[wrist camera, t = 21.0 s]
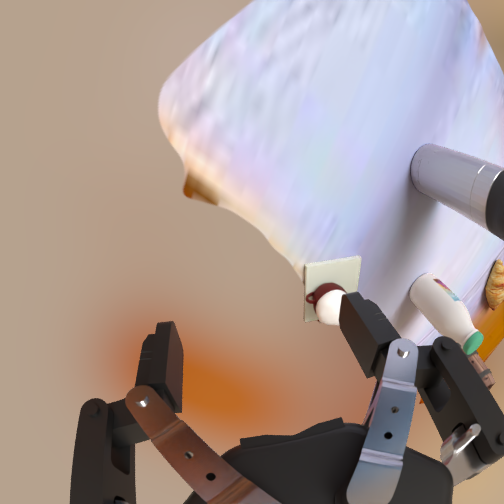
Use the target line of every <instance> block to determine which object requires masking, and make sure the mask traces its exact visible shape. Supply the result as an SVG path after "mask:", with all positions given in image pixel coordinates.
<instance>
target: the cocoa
mask: <svg viewBox="0 0 504 504" xmlns="http://www.w3.org/2000/svg"><path fill="white" fill-rule="evenodd" d="M343 294H347V292H346V291H345V290H344V289H343V287H341V286H340V285H338V284H336V283H333V282H331V283H324V284H322V285H320V286H319V287H318V288H317V289H316V290H315V292H311V293H309V294H308V295H307V296H306V299H305V300H306V302H308V303H309V304H313V308H314V311H315V313H316V314H317V316H318V318H319V321H320V323H325V324H327V325H339V313H340V305H341V297H342V295H343ZM310 296H313V297H312V300H309V299H308V298H309V297H310Z"/></svg>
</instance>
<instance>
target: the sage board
mask: <svg viewBox="0 0 504 504" xmlns="http://www.w3.org/2000/svg"><path fill="white" fill-rule="evenodd" d="M360 266H361V257H360V256H359V255H357V256H351V257H346V258H340V259H334V260H328V261H321V262H315V263H309V264H305V288H304V290H305V291H304V321H305V322H309V321H314V320H319V318H318V316H317V314H316V313H315V311H314V308H313V304H309V303H308V302H306V300H305V299H306V296H307V295H308V294H309V293H311V292H315V290H316V289H317V288H318V287H319V286H320V285H322V284H324V283H331V282H333V283H336V284H338V285H340V286H341V287H343V289H344V290H345V291H346V292H347V293H352V292H357V288H358V281H359V274H360ZM312 297H313V296H310V297H309V298H308V299H309V300H312Z"/></svg>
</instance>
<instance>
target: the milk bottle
mask: <svg viewBox="0 0 504 504" xmlns="http://www.w3.org/2000/svg"><path fill="white" fill-rule="evenodd" d="M410 299H411V301H412V302H413V303H414V304H415V306H416V307H417V308H418V309H419V310H420V311H421V313H422V314H423V315H424V316H425V317H426V318H427V319H428V321H429V322H430V323H431V324H432V325H433V326H434V328H435V329H436V330H437V331H438V332H439V333H440V334H442V335H443V336H446V337H450V338H452V339H453V340H454V341H456V342H458V343H459V344H460V345H461V348H462V349H463V351H464V352H465V353H466V354H467V355H469V354H471V353H473V352H474V351H475V350H476V349H477V348H478V347H479V346H480V344H481V343H482V341H483V335H482V334H481V333H480V332H479V331H478V329H475V328H474V326H473V324H472V322H471V319H470V315H469V312H468V310H467V308H466V307H465V305H464V304H463V303H462V302H461V300H460V299H459V298H458V297H457V296H456V295H455V294H454V293H453V292H452V291H451V290H450V289H449V288H448V287H447V286H445V285H444V284H443V283H442V282H441V281H440V280H439V279H438V278H437V277H436V276H435V275H433V274H431V273H426V274H423V275H421V276H420V277H419V278H418V279H417V280H416V281H415V282H414V283H413V285H412V287H411V289H410Z"/></svg>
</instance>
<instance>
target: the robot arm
mask: <svg viewBox="0 0 504 504" xmlns="http://www.w3.org/2000/svg"><path fill="white" fill-rule="evenodd" d="M411 177H412V181H413V184H414V186H415V187H416V189H417V190H418V191H420V192H421V193H423V194H425V195H427V196H429V197H431V198H433V199H435V200H437V201H438V202H440V203H442V204H444V205H446V206H448V207H449V208H451V209H453V210H455V211H456V212H458V213H460V214H462V215H463V216H465V217H467V218H468V219H470V220H472V221H473V222H475V223H477V224H478V225H480V226H482V227H483V228H485V229H486V230H488V231H490V232H491V233H493V234H494V235H496V236H497V237H499V238H500V239H502V240H503V241H504V168H503V167H500V166H498V165H495V164H492V163H489V162H487V161H484V160H481V159H479V158H476V157H473V156H470V155H467V154H464V153H461V152H458V151H455V150H451V149H448V148H445V147H441V146H438V145H434V144H425V145H423V146H422V147H420V148H419V149H418V151H417V152H416V153H415V155H414V158H413V161H412V165H411ZM339 326H340V329H341V331H342V333H343V335H344V336H345V338H346V340H347V342H348V344H349V345H350V347H351V349H352V351H353V353H354V355H355V357H356V358H357V360H358V362H359V364H360V366H361V368H362V370H363V372H364V373H365V376H366V377H367V378H370V377H373V376H375V377H376V379H377V381H376V384H375V387H374V391H373V394H372V398H371V401H370V404H369V408H368V410H367V413H366V416H365V419H364V421H363V423H362V425H360V424H356V423H343V420H342V418H341V417H340V418H337V419H333V420H330V421H326V422H322V423H318V424H316V425H314V426H312V427H310V428H308V429H306V430H305V431H302V432H300V433H298V434H296V435H291V436H289V435H288V436H287V435H285V436H284V435H262V436H255V437H249V438H241V439H240V444H241V445H239V446H236V447H234V448H232V449H230V450H228V451H227V452H225V453H224V454H223V455H221V456H219V455H218V454H217V453H216V452H215V451H213V450H212V449H211V448H210V447H209V446H208V445H207V444H206V443H205V442H204V441H203V440H202V439H201V438H200V437H199V436H198V435H197V434H196V433H195V432H194V431H193V430H192V429H191V428H190V427H189V426H188V425H187V424H186V423H185V422H184V421H182V420H180V419H179V418H178V417H177V415H176V414H175V413H182V383H183V348H182V344H181V341H180V338H179V335H178V332H177V329H176V326H175V323H174V322H173V321H169V322H160V323H157V327H156V333H155V334H149V335H148V336H147V338H146V339H145V340H144V342H143V345H142V350H141V355H140V361H139V366H138V372H137V377H136V383H135V387H134V388H132V389H131V390H130V391H129V392H128V393H127V395H126V398H124V399H122V400H119V401H116V402H112V403H109V404H106V403H105V401H103V400H101V399H98V398H94V399H90V400H89V401H87V402H85V403H84V405H83V406H82V408H81V411H80V416H79V421H78V428H77V434H76V440H75V448H74V457H73V465H72V475H71V490H70V504H136V492H135V443H139V442H142V441H146V440H149V439H151V442H152V443H153V444H154V446H155V447H156V448H157V450H158V451H159V452H160V453H161V454H162V456H163V457H164V458H165V459H166V460H167V461H168V463H169V464H170V465H171V466H172V467H173V468H174V469H175V470H176V472H177V473H178V474H179V475H180V476H181V477H182V478H183V479H184V480H185V481H186V483H188V484H189V486H190V487H191V488H192V489H193V490H194V491H193V492H192V493H191V495H190V496H189V497H188V499H187V500H186V501H185V502H184V503H183V504H452V495H453V487H454V486H456V485H457V484H459V483H461V482H462V481H464V480H467V479H471V478H472V477H474V476H476V475H477V474H479V473H480V472H482V471H483V470H485V469H486V468H488V467H489V466H491V465H492V464H493V463H495V462H496V461H498V460H499V459H500V458H502V457H503V456H504V415H503V413H502V411H501V409H500V408H499V406H498V404H497V403H496V401H495V399H494V398H493V396H492V394H491V393H490V391H489V390H488V388H487V386H486V385H485V383H484V382H483V380H482V379H481V377H480V376H479V374H478V373H477V371H476V370H475V368H474V367H473V365H472V364H471V362H470V361H469V360H468V358H467V357H466V355H465V354H464V352H463V351H462V350H461V348H460V347H459V346H458V344H457V343H456V342H455V341H454V340H453V339H452V338H450V337H446V336H441V337H438V338H436V339H435V340H434V342H433V345H429V346H416V344H415V343H413V342H412V341H410V340H408V339H403V338H401V337H400V336H399V334H398V333H397V331H396V330H395V329H394V327H393V326H392V325H391V323H390V322H389V320H388V319H386V316H385V315H384V314H383V313H382V311H381V310H380V308H379V307H378V306H377V305H376V304H375V303H373V302H372V301H370V300H369V299H368V300H364V299H363V297H362V296H361V295H360V293H359V292H352V293H347V294H343V295H342V297H341V305H340V313H339ZM443 378H444V379H443ZM446 383H447V384H446ZM449 388H450V389H449ZM417 390H418V392H419V394H420V396H421V398H422V399H423V401H424V403H425V405H426V407H427V409H428V411H429V413H430V415H431V417H432V419H433V421H434V423H435V425H436V427H437V430H438V432H439V434H440V436H441V438H442V440H443V444H442V446H441V455H440V458H441V460H442V463H441V462H440V461H437V460H435V459H433V458H430V457H428V456H426V455H424V454H422V453H419V452H417V451H415V450H413V449H411V448H409V447H407V446H406V443H407V439H408V435H409V430H410V426H411V421H412V416H413V411H414V406H415V400H416V394H417Z"/></svg>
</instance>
